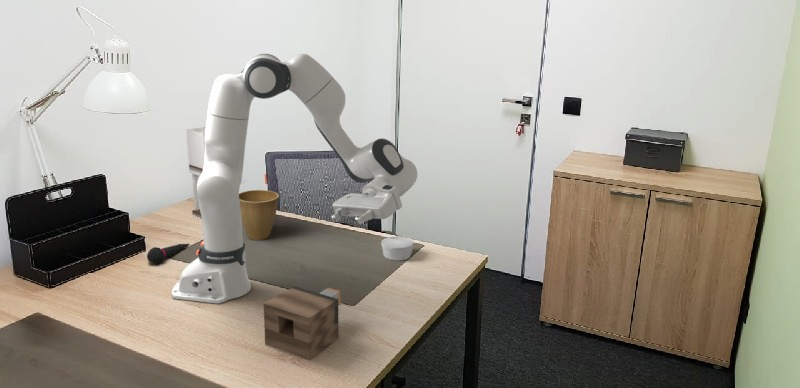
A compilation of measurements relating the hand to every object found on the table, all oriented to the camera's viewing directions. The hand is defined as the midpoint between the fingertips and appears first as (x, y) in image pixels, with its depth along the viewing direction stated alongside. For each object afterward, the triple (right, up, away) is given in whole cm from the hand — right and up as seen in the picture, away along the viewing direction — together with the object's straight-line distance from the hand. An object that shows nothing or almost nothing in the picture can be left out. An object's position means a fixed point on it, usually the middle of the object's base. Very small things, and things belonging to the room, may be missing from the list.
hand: (345, 220), depth 168 cm
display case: (-61, -2, +82) cm, 102 cm away
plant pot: (-37, -9, +60) cm, 71 cm away
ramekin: (+14, -14, +46) cm, 51 cm away
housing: (-10, -30, -10) cm, 34 cm away
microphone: (-62, -14, +41) cm, 76 cm away
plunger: (-6, -24, -6) cm, 26 cm away
